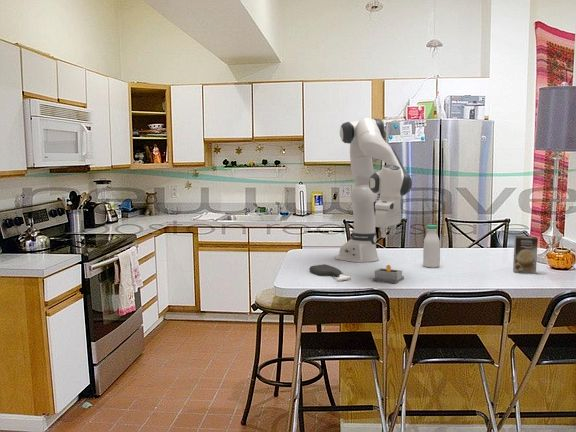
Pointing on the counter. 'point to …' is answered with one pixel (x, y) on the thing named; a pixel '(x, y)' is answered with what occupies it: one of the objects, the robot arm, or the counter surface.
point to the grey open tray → (388, 274)
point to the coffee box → (525, 254)
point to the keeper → (388, 279)
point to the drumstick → (328, 272)
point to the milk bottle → (431, 248)
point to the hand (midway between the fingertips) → (387, 236)
